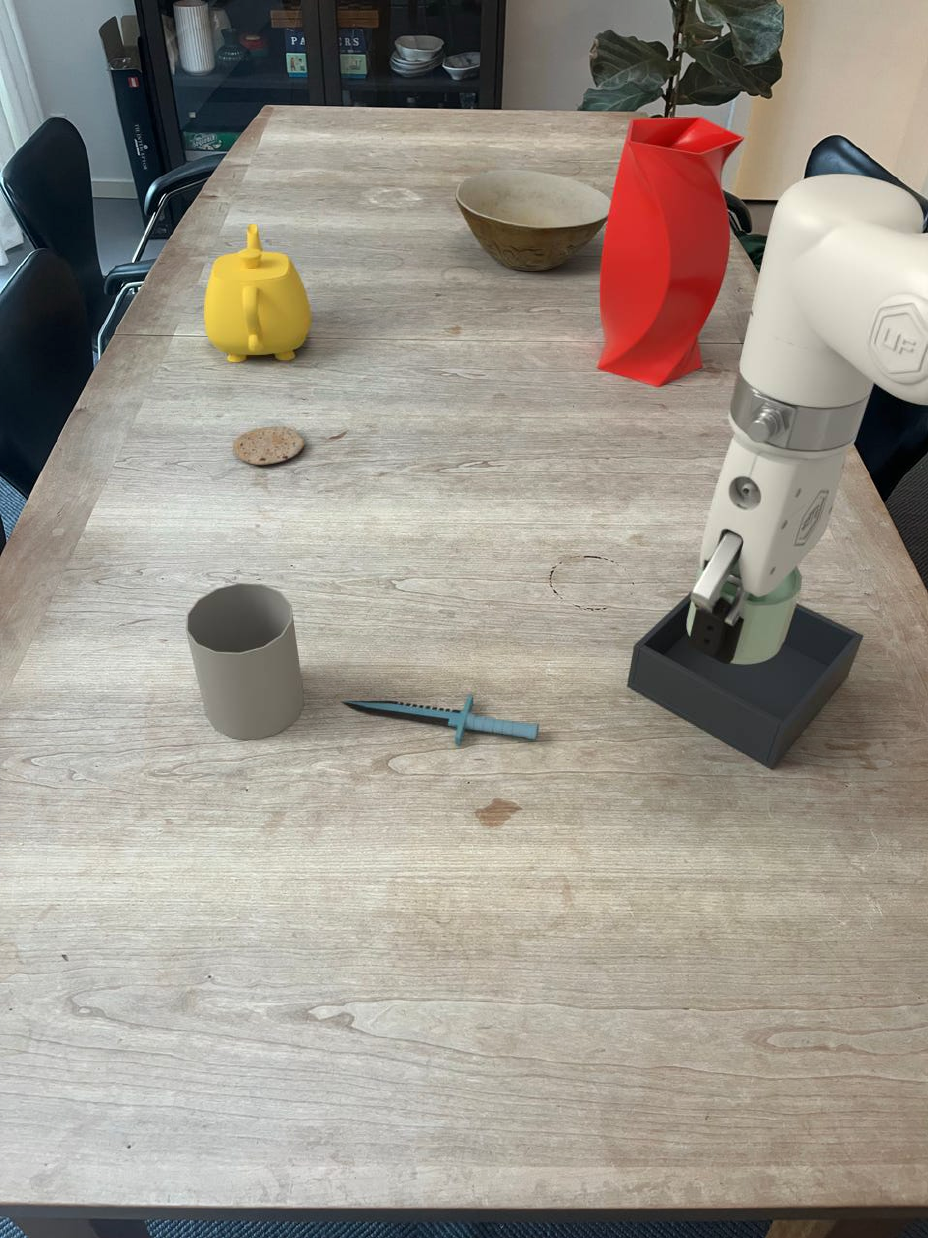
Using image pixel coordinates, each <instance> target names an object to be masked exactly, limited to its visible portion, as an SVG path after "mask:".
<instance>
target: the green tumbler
mask: <svg viewBox="0 0 928 1238" xmlns="http://www.w3.org/2000/svg"><path fill="white" fill-rule="evenodd" d="M733 571H735V572H737V573H739V574H740V570H739V564H737V563H736V565H735V566H734V568H733ZM703 572H704V571H703V570H702V568H701V566H700V564H698V570H697V574H696V577H695V578H696V579H695V583H694V587H695V586H696V584H697V582H698V580H699V579H700V577H701V575H702V573H703ZM802 583H803V575H802V573H801V571H800V569H799V567H798V565H797V566H796V567H795V568H794V569H793V570H792V571H791V573H790V574H789V575H788V576H787V577H786V578H785V579H784V580H783V581H782V582H781V583H780V584H779V585H778V586H777V587H776V588H775V589H774V590H773V591H772V592H770V593H768V594H766V595H764V596H760V597H757V596H754V594H752V593H750V594H749V596H748V599H747V601H746V603H745V605H744V608H743V610H742V612H741V614H740V617H741V618H743V619H744V623H743V626H742V630H741V634H740V637H739V641H738V644H737V648H736V651H735V655H734V658H733V660H732V661H731V662H730V663H734V664H756V663H760V662H763V661H766V660H768V659H770V658H772V657H773V656H775V655H776V654H777V653H778V652H779V650H780V649H781V647H782V644H783V642H784V641H785V637H786V634H787V631H788V628H789V625H790V622H791V619H792V616H793V613H794V609H795V606H796V603H798V599H799V597H800V594H801V590H802V585H803V584H802ZM738 588H739V587H737V586H735V585H732V584H730V583H728V582H725V584H724V586H723V588H722V590H721V593H720V594H721V598H723V599H725V600H727V601H728V602H729V603H730V604H732V601H733V599H734V597H735V594H736V592H737V590H738ZM695 612H696V608H695V604H694V602H693V601H692V600H691V604H690V609H689V614H688V618H687V631H688V634H689V636H690V634H691V629H692V625H693V621H694V616H695Z"/></svg>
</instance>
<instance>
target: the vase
mask: <svg viewBox="0 0 928 1238" xmlns="http://www.w3.org/2000/svg"><path fill="white" fill-rule="evenodd" d="M627 129H628V130H627V133H626V137H625V140H624V143H623V148H622V151H621V155H620V160H619V163H618V168H617V172H616V177H615V180H614V185H613V190H612V193H611V199H610V201H611V204H610V209H609V214H608V219H607V222H606V224H605V225H606V226H605V231H604V239H603V245H602V251H601V252H602V253H601V260H600V261H601V262H600V272H599V273H600V274H599V313H600V314H599V315H600V321H601V328H602V333H603V335H604V336H603V337H604V343H603V348H602V351H601V355H600V358H599V361H598V364H597V366H596V368H597V369H598V370H601V371H605V372H608V373H611V374H615V375H618V376H621V377H624V378H628V379H631V380H634V381H638V382H641V383H643V384H647V385H651V386H653V387H657V388H660V387H662V386H664V385H666V384H669V383H671V382H672V381H675V380H677V379H679V378H681V377H683V376H685V375H687V374H690V373H692V372H694V371H696V370H698V369H700V368H703V367H704V365H703V360H702V353H701V350H700V349H701V348H700V344H699V337H698V336H699V334H700V333H701V331H702V329H703V327H704V325H705V324H706V322H707V320H708V318H709V316H710V315H711V312H712V310H713V308H714V305H715V303H716V301H717V299H718V296H719V294H720V291H721V289H722V285H723V282H724V279H725V276H726V271H727V268H728V267H727V266H728V263H729V256H730V248H731V247H730V246H731V225H730V217H729V215H730V214H729V210H728V205H727V201H726V198H725V193H724V190H723V184H722V177H723V171H724V167H725V165H726V163H727V161H728V160H729V158H730V157H731V156H732V154H733V153H734V151H735V150H736V149H737V148H738V146H740V144H741V143H742V142H743V141H744V140H745V139H746V138H745V137H744V136H743V135H739V134H738V133H735V132H733V131H732V130H729V129H727V128H725V127H723V126H721V125H719V124H717V123H715V122H713V121H711V120H708V119H707V118H705V117H702V116H688V117H687V116H684V117H683V116H682V117H644V118H642V117H641V118H638V117H637V118H631V119H630V122H629V125H628V128H627Z"/></svg>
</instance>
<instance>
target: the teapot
mask: <svg viewBox="0 0 928 1238" xmlns="http://www.w3.org/2000/svg"><path fill="white" fill-rule="evenodd" d="M246 239H247V240H246V248H243V249H241V250H239V251H238V252H233V253H227V254H223V255H220V256H218V257H217V258H216V259H215V261H214V263H213V265H212V266H211V267H212V268H211V270H210V274H209V276H208V277H209V278H208V280H207V281H208V282H207V286H206V290H205V294H204V302H203V321H204V329H205V330H204V331H205V334H206V336H207V338H208V340H209V341H210V342H211V343H212V345H213V347H215V349H217V350H218V351H219V352H221V353H222V352H223V353H226V354H228V355H227V358H226V359H227V361H229V362H230V363H242V362H245V361H246V360H247V359H248V356H260V355H262V356H263V355H271V354H274V356H275V359H277V360H279V361H290V360H292V359H294V358H295V357H296V354H295V352H294V351H293V350H296V349H298V348H300V347H302V346H303V344H304V342H305V341H306V339H307V337H308V335H309V332H310V329H311V325H312V311H311V305H310V302H309V298H308V295H307V291H306V289H305V286H304V283H303V281H302V278H301V277H300V274H299V273H298V270H297V269H296V267H295V265H294V263H293V262H292V260H291V259H290V257H289V256H288V255H287V254H284V253H282V252H274V251H264V250H263V248H262V243H261V240H260V233H259V228H258V226H257V225H256V224H255V223H250V224H248V226H247V229H246Z"/></svg>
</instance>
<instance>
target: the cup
mask: <svg viewBox="0 0 928 1238" xmlns="http://www.w3.org/2000/svg"><path fill="white" fill-rule="evenodd" d="M185 632H186V637H187V641H188V645H189V646H188V647H189V649H190V653H191V658H192V661H193V666H194V671H195V675H196V679H197V683H198V687H199V693H200V695H201V700H202V704H203V708H204V712H205V716H206V718H207V719H208V721H209V723H210V724H211V726H212V727H213V729H214V730H215V731H217V732H218V733H221V734H223V735H225V736H227V737H229V738H231V739H234V740H249V741H250V740H251V741H257V740H261V739H264V738H265V739H266V738H268V737H272V736H275V735H278V734H280V733H281V732H283V731H284V730H286V729H287V728H288V727H289V726H291V725H292V724H293V723H295V722H297V719H298V717H299V715H300V714H301V712H302V710H303V708H304V706H305V700H304V699H305V698H304V686H303V678H302V674H301V672H302V671H301V664H300V657H299V651H298V650H299V649H298V644H297V643H298V642H297V636H296V629H295V621H294V613H293V607H292V603H291V602H290V600H288V599H287V597H286V596H285V595H284V594H283V593H282V591H280V590H278V589H275V588H273V587H270V586H267V585H265V584H263V583H251V582H250V583H247V582H245V583H244V582H238V583H237V582H236V583H233V584H228V585H225V586H220V587H217V588H215V589H213V590H212V591H210V592H208V593H206V594H205V595H203V596H201V597H199V598H197V600H196V601H195V603H194V604H193V606H192V607H191V608H190V609H189V611H188V612H187V613H186V621H185Z"/></svg>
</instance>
